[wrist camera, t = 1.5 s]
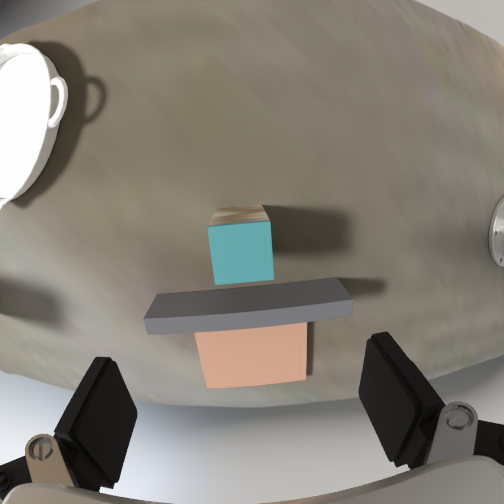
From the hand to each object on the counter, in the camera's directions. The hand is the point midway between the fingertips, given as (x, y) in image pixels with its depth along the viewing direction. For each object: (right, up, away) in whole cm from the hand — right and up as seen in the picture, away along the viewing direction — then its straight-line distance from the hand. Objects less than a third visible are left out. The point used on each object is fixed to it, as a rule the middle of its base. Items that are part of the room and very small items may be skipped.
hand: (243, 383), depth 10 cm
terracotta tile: (0, -9, +28) cm, 29 cm away
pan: (-33, +22, +17) cm, 44 cm away
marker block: (-1, +7, +23) cm, 24 cm away
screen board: (0, 0, +25) cm, 25 cm away
